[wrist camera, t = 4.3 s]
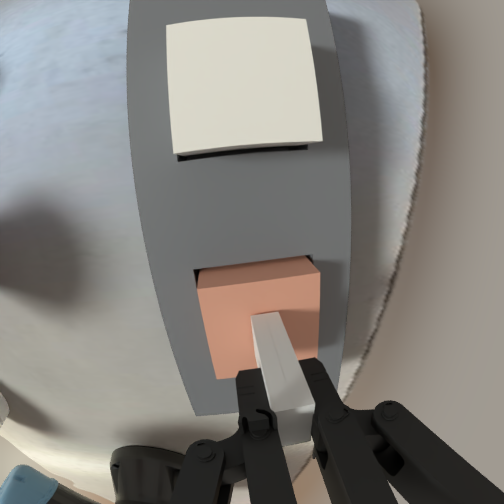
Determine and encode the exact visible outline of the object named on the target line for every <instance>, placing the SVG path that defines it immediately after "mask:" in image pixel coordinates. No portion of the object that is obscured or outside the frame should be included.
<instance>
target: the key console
mask: <svg viewBox="0 0 504 504" xmlns="http://www.w3.org/2000/svg"><path fill="white" fill-rule="evenodd" d="M231 17H284V18H298V19H306V22H307V27H308V33H309V38H310V44H311V50H312V56H313V62H314V69H315V76H316V83H317V91H318V99H319V108H320V117H321V128H322V139H323V141H321V142H315V143H310V144H304V145H299V146H282V147H266V148H252V149H241V150H231V151H221V152H213V153H205V154H197V155H190V156H181V155H177V154H173V144H172V133H171V122H170V109H169V94H168V75H167V46H166V25H170V24H176V23H182V22H189V21H197V20H206V19H216V18H231ZM127 106H128V123H129V136H130V147H131V157H132V166H133V174H134V182H135V189H136V196H137V202H138V209H139V215H140V220H141V226H142V232H143V237H144V242H145V247H146V252H147V256H148V261H149V266H150V270H151V274H152V279H153V283H154V287H155V291H156V295H157V299H158V303H159V306H160V310H161V314H162V317H163V321H164V324H165V328H166V331H167V335H168V338H169V341H170V344H171V348H172V351H173V354H174V357H175V360H176V363H177V366H178V369H179V372H180V375H181V378H182V381H183V383H184V386H185V389H186V392H187V394H188V397H189V400H190V402H191V405H192V407H193V410H194V412H195V415H196V416H204V415H217V414H227V413H236V412H239V408H238V399H237V390H236V381H235V378H236V377H234V378H226V379H216V375H215V370H214V366H213V362H212V358H211V354H210V349H209V345H208V341H207V336H206V331H205V327H204V322H203V317H202V313H201V308H200V303H199V298H198V292H197V285H198V278H199V271H200V269H201V268H209V267H217V266H225V265H233V264H241V263H248V262H256V261H264V260H272V259H279V258H287V257H295V256H302V255H305V256H306V257H307V258H308V259H309V261H310V262H311V263H312V264H313V265H314V266H315V267H316V268H317V269H318V271H319V272H320V312H319V337H318V355H317V359H318V360H319V361H320V362H322V363H323V365H324V367H325V369H326V372H327V373H328V375H329V377H330V379H331V381H332V383H333V385H334V387H335V389H336V391H337V388H338V382H339V376H340V369H341V362H342V355H343V347H344V339H345V329H346V319H347V308H348V295H349V280H350V258H351V182H350V161H349V146H348V133H347V122H346V113H345V104H344V96H343V88H342V81H341V75H340V68H339V62H338V57H337V51H336V46H335V41H334V36H333V31H332V26H331V22H330V17H329V13H328V9H327V5H326V1H325V0H130V4H129V16H128V31H127Z"/></svg>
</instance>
